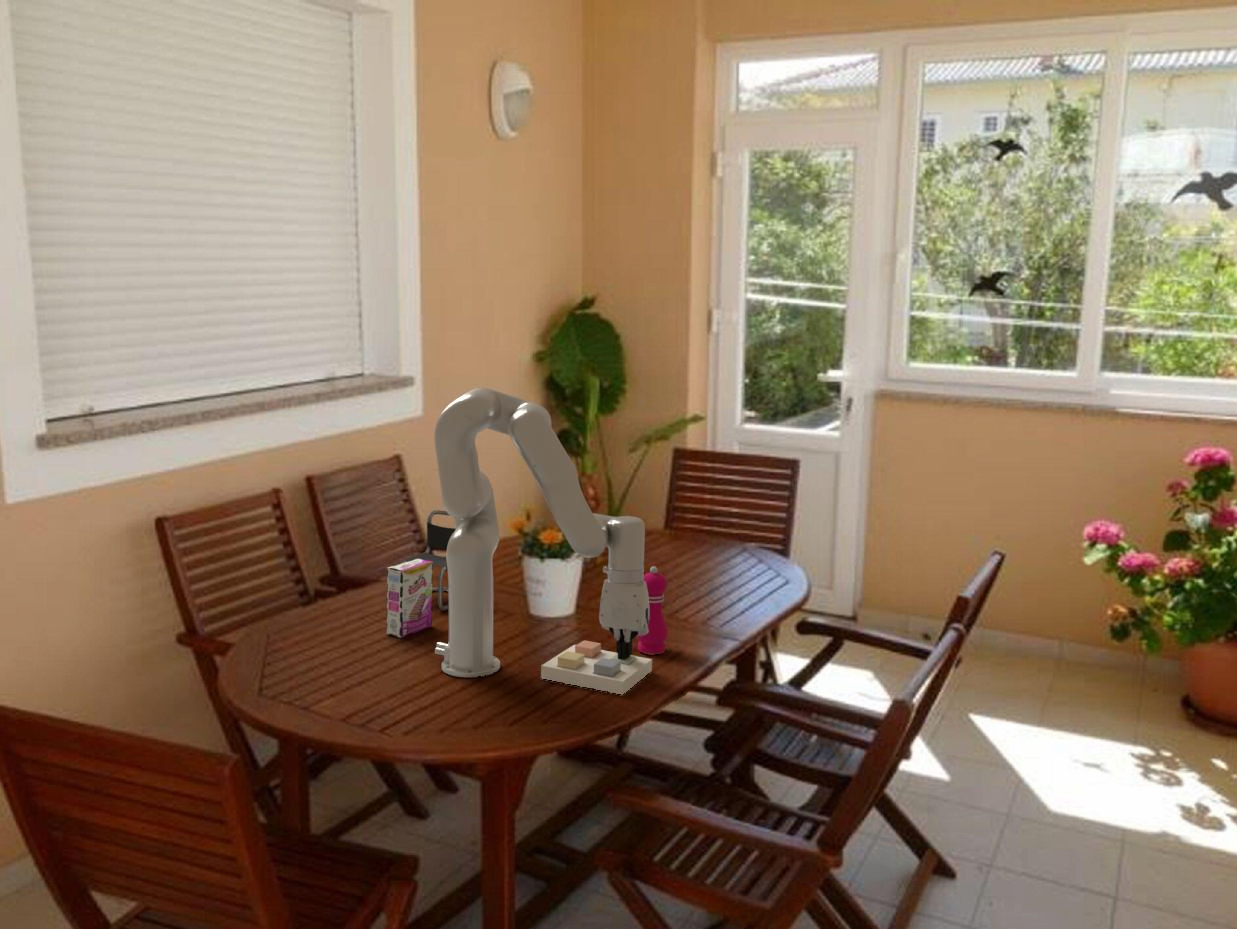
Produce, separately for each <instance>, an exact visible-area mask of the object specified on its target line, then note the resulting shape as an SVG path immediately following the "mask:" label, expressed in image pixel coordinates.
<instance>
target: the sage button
mask: <svg viewBox="0 0 1237 929" xmlns="http://www.w3.org/2000/svg"><path fill="white" fill-rule="evenodd" d="M636 656H637V655H634V654H633V655H632V654H631V655H630V657H628V658H627V659H625V660H622V659H618V654H616V655H615V656H613V657H612V658H611V659H612V660H617V661H621V664H624V665H630V664H631V663H633V662H634V661H635V660H636Z"/></svg>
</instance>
